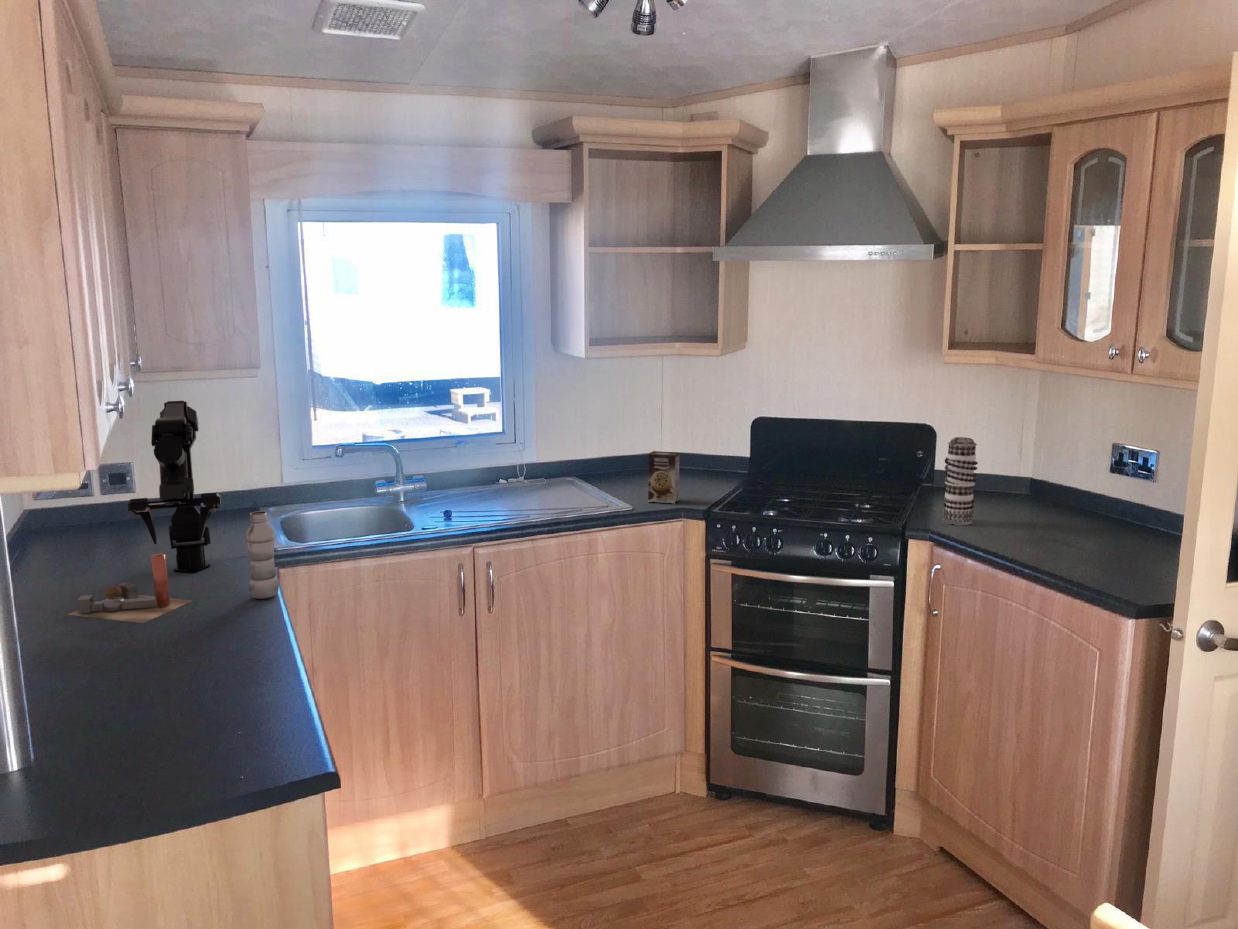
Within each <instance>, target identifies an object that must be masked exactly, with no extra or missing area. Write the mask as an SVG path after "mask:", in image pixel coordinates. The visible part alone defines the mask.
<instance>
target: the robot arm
mask: <svg viewBox="0 0 1238 929" xmlns="http://www.w3.org/2000/svg"><path fill="white" fill-rule="evenodd" d="M163 407H164V408H163V409H162V410H161V411H160V413H159V417H158V418H156V420H155V421H154V424H152V426H151V442H150V443H151V446H152V447H154V448H153V454H154V457H155V459H156V461H157V462H158V464H159V481H160V484H159V485H158V491H159V492H158V493H159V494H158V495H159V500H153V501H150V499H149V498H148V497H142V498H141V497H140V498H139V497H138V498H130V499H129V500H128V501H127V511H128V513H129V515H131V516H136V518H137V519H138V520H139V519H142V520H143V522H144V524H145V525H146V527H147V530H148V532H149V535H150V537H151V539H152V541H153V543H154V545H157V544H158V543H157V533H156V528H155V527H156V526H155V522H154V516H153V514H152V513H151V512H152V511H154V510H167V509H175V510H174V512H173V514H172V516H171V519H170V522H171V523H170V524H169V526H168V532H169V533H168V534H169V535H168V536H169V541H170V547H171V550H174V549H176V554H175V558H176V567H174V568H173V569H172V571H174V572H182V573H193V574H194V573H197V572H199V571H201V570H202V571H203V570H204V569H206V568H209V567H211V566H212V565H211V563H206V552H205V547H208V545H210V544H211V543H212V542H211V534H210V527H209V526H207V524H208V521H209V519H210V517H211V515H212V514H213V513H216V512H217V509H222V507H223V506H222V497H221V494H220V493H218V492H207V493H206V492H205V493H200V497H195V484H194V477H193V466H192V463H193V462H192V452H191V450H192V447H193V445H194V443H195V441H196V440H197V432H199V419H198V414H197V411H196V410H195V409H193V407H190V406H188V401H184V400H169V401H166V402H164V404H163ZM197 507H199V510H198V508H197Z"/></svg>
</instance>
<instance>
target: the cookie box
mask: <svg viewBox="0 0 1238 929" xmlns="http://www.w3.org/2000/svg"><path fill="white" fill-rule="evenodd" d="M647 456H648V461H647V462H648V463H647V464H648V470H647V471H648V474H647V476H648V477H647V481H648V482H647V484H648V486H647V494H648V496H647V497H648V498H647V503H648V502H661V503H675V502H676V501H677V500H679V501H680V456H681V454H680V452H679V451H678V452H676V451H674V452H673V451H659V450H658V451H657V450H656V451H655V450H653V451H651V452H649V453H648V455H647Z"/></svg>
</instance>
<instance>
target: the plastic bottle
mask: <svg viewBox="0 0 1238 929" xmlns="http://www.w3.org/2000/svg"><path fill="white" fill-rule="evenodd" d="M267 521H268V514H267V511H263V510H262V511H261V510H260V511H259V510H258V511H253V512H250V513H249V522H250V523H251V524H250V525H249V527H248V529H247V530H246V533H245V536H244V537H245V543H246V546H247V550H248V558H249V564H250V565H249V566H250V569H249V570H250V576H249V586H248V589H249V591H250V592H249V593H250V595H251V596H252V597H253V598H255V599H260V600H262V599H263V600H264V599H271V598H272V597H273V598H274V597H275V596H277V594H278V593H279V588H280V586H279V585H280V583H279V580H278V576H277V571H276V566H275V551H274V550H275V538H276V537H275V535H276V534H275V531H274V529H273V528H272V527H271V525H270V524H268V523H267Z"/></svg>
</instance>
